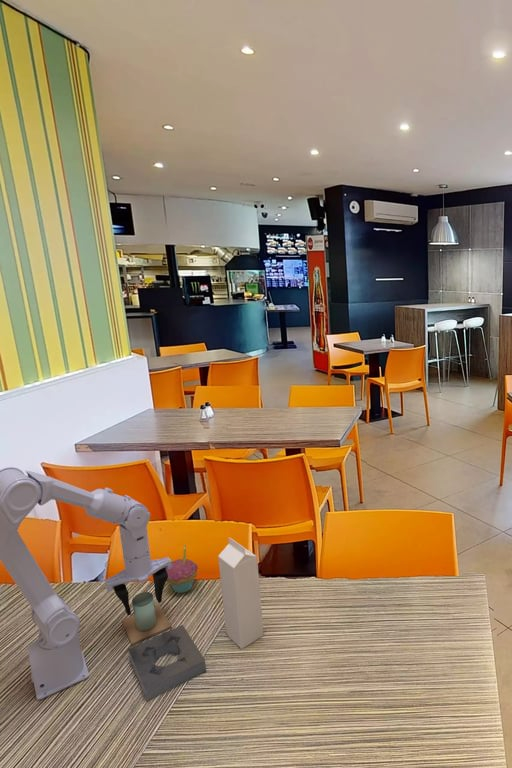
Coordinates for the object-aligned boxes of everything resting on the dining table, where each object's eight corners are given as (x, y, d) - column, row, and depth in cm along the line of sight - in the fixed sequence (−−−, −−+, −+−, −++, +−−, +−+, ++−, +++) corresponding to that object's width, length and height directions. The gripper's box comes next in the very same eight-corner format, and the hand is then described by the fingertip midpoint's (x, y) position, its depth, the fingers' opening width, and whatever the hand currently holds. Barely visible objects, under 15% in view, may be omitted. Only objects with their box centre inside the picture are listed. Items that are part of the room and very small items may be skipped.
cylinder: (139, 634, 99) (135, 607, 98) (133, 622, 103) (129, 597, 102) (159, 625, 101) (155, 599, 100) (153, 614, 105) (149, 589, 104)
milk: (241, 649, 93) (232, 554, 89) (225, 634, 98) (215, 542, 94) (264, 635, 97) (256, 542, 93) (248, 620, 102) (239, 531, 97)
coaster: (132, 645, 97) (131, 643, 97) (121, 621, 104) (121, 619, 104) (171, 628, 101) (171, 625, 101) (158, 606, 109) (158, 604, 109)
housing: (147, 701, 83) (145, 689, 82) (129, 659, 93) (128, 649, 93) (206, 670, 89) (205, 659, 88) (183, 634, 99) (182, 624, 98)
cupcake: (202, 577, 119) (197, 535, 117) (194, 598, 111) (189, 554, 109) (171, 577, 120) (166, 536, 118) (161, 598, 112) (155, 554, 110)
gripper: (107, 572, 92) (115, 630, 95) (173, 548, 99) (180, 603, 102) (99, 557, 98) (108, 611, 101) (163, 535, 106) (169, 587, 108)
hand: (143, 606), depth 102 cm, fingers open, 6 cm apart
